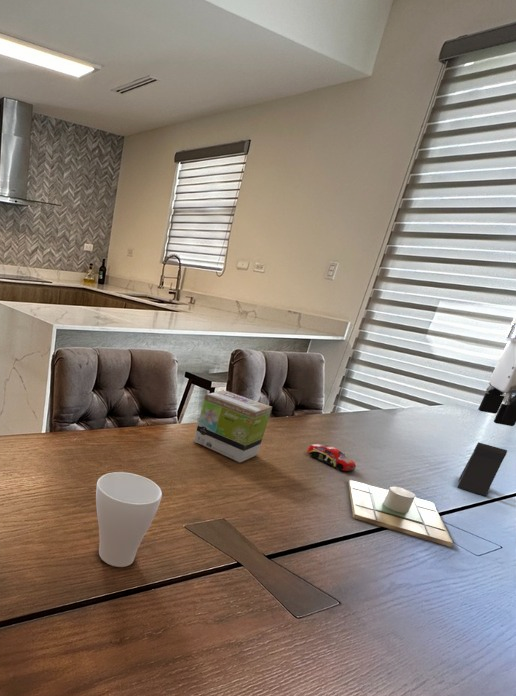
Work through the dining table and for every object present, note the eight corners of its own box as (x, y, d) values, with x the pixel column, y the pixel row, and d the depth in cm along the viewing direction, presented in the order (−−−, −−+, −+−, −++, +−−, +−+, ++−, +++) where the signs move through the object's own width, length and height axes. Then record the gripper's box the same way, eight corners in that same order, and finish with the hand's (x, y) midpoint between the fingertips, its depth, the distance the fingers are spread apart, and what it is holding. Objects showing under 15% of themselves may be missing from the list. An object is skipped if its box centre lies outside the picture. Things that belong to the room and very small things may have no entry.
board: (431, 506, 113) (433, 501, 112) (451, 547, 96) (454, 542, 96) (348, 483, 120) (349, 479, 119) (353, 518, 103) (355, 513, 102)
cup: (155, 575, 77) (172, 505, 71) (93, 577, 75) (105, 504, 69) (136, 537, 86) (150, 472, 81) (80, 537, 84) (90, 471, 79)
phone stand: (459, 478, 132) (478, 438, 127) (486, 486, 128) (507, 446, 124) (456, 487, 125) (477, 446, 121) (485, 496, 122) (507, 455, 117)
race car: (358, 472, 127) (363, 459, 126) (345, 474, 125) (351, 461, 123) (316, 451, 138) (320, 439, 136) (303, 453, 135) (308, 440, 134)
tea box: (192, 442, 133) (204, 393, 127) (210, 436, 139) (223, 388, 134) (240, 463, 123) (256, 411, 117) (258, 455, 130) (273, 405, 124)
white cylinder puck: (406, 506, 109) (413, 491, 107) (410, 515, 104) (417, 500, 103) (381, 499, 111) (388, 484, 109) (384, 508, 106) (391, 492, 105)
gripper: (579, 344, 83) (534, 434, 90) (538, 334, 98) (502, 411, 104) (526, 338, 86) (486, 425, 92) (493, 328, 101) (461, 404, 107)
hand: (494, 417), depth 98 cm, fingers open, 9 cm apart
